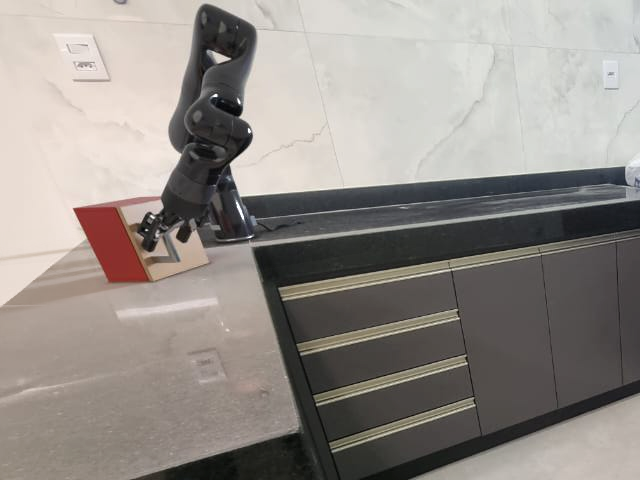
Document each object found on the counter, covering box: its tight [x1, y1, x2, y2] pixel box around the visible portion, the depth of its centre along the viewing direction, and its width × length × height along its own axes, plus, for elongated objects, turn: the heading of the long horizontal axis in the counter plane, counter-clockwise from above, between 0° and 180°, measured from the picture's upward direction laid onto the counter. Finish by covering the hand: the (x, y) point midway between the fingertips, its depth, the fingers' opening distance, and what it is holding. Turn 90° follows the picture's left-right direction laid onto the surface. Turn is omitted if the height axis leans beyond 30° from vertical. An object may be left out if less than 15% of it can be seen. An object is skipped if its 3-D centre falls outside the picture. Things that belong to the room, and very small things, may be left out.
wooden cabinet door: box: [116, 200, 210, 282], centre depth 122 cm, size 7×16×16 cm, turn 175°
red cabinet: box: [72, 195, 161, 283], centre depth 123 cm, size 10×16×17 cm, turn 175°
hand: (164, 244), depth 118 cm, fingers open, 8 cm apart
